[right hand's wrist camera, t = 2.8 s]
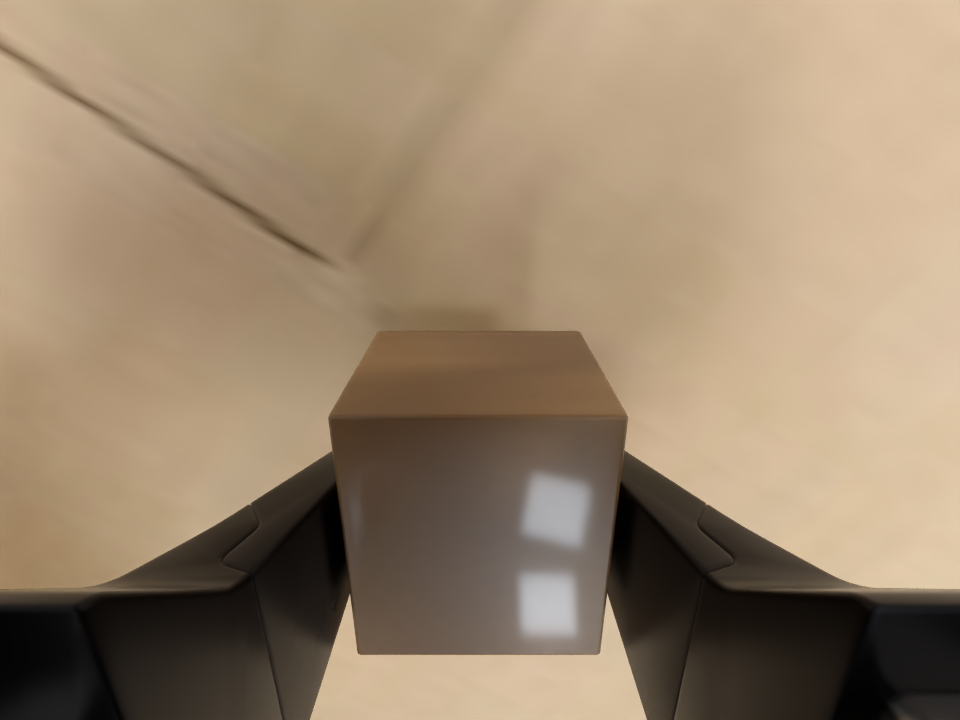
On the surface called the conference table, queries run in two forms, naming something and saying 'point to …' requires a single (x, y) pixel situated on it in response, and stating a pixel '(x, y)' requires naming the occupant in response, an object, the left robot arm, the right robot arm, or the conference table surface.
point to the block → (478, 492)
